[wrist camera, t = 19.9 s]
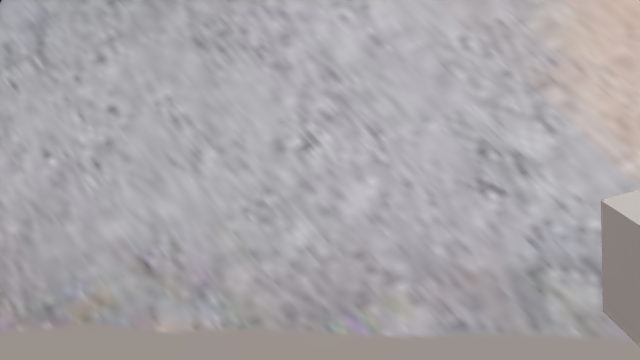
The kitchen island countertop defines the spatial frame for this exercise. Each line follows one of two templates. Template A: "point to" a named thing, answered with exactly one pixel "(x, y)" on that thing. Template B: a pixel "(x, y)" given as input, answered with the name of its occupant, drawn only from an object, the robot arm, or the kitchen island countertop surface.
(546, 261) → the kitchen island countertop surface
